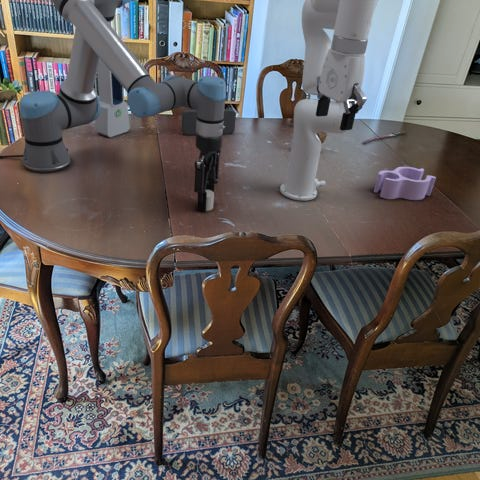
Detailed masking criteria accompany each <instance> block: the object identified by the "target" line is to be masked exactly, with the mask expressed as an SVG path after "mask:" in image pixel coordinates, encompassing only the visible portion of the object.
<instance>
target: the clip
mask: <svg viewBox="0 0 480 480" xmlns="http://www.w3.org/2000/svg"><path fill="white" fill-rule="evenodd" d="M424 172H425V169H424V168H423V167H421V168H416V167H411V166H398V167H396V168H394V169H393V170H385V169H384V170H380V171H378V175H377V179H376V182H375V186H374V190H373V192H374V193H379V191H380V194H379V198H383V199H386V200H396V199H405V200H409V201H420V200H423V199H424V198H425V197H426V196H427V197H430V196H431V194H432V191H433V188H434V185H435V182H436V179H437V177H436V176H434V175H429V174H428V175H426V176H425V179H422V178H423V175H424Z"/></svg>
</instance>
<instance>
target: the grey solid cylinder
mask: <svg viewBox="0 0 480 480" xmlns="http://www.w3.org/2000/svg"><path fill="white" fill-rule="evenodd" d="M206 192H207V201H206V211H205V212H209V211H212V210H213V209H214V204H215V203H214V202H215V191H214V192H213V191H211V190H207V189H206ZM197 195H198V193H196V196H197Z"/></svg>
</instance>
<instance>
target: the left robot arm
mask: <svg viewBox="0 0 480 480" xmlns="http://www.w3.org/2000/svg"><path fill="white" fill-rule="evenodd" d="M51 1H52V3H53V5H54V7H55V9H56V11H57V12H58V14H59V15H60V17H62V18H63V20H64V21H65V22H66V23H69V24H72V25H73V26H74V34H73V40H72V46H71V52H70V58H69V62H68V69H67V74H66V75H67V76H66V79H65V80H62V81H61V83H60V86H59V92H58V93H55V92H54V91H51V90H40V91H39V90H36V91H31V92H29V93H26V94H24V95H23V96H22V97H21V98H20V100H19V103H18V104H19V116H20V119H21V125H22V132H23V136H24V148H23V153H22V154H12V155H11V154H10V155H0V159H7V158H21V159H22V160H21V161H22V166H23V168H24V169H25V170H27V171H29V172H33V173H39V174H46V173H56V172H61V171H63V170H66V169H67V168H69V167H70V166H71V163H72V159H71V155H70V153H69V148H68V147H66V145H65V143H64V140H63V131H65V130H69V129H73V128H77V127H80V126H85V125H88V124H90V123H93V122H95V120H96V119H97V118H98V116H99V114H100V110H101V104H100V103H99V101H100V99H99V94H98V93H97V90H96V89H95V87H94V86H95V82H96V77H97V69H98V64H99V60H100V59H101V60H102V61H103V62H104V64H105V65H106V66H107V68H108V69H109V70H110V71H111V73H112V74H113V75H114V76H115V78H116V79H117V80H118V81H119V83H120V84H121V85H122V86H123V88H124V91H125V92H126V93H127V97H126V103H127V106H128V107H129V108H128V110H129V112H131V114H132V115H133V116H135V117H136V118H140V119H145V118H150V117H155V116H157V115H160V114H162V113H165V112H169V111H172V110H177V109H179V108H188V109H189V110H197V122H196V133H197V134H195V147H196V149H197V150H199V156H198V161H197V160H195V161H194V182H193V183H194V184H193V185H194V186H193V193H195V194H196V211H199V212H200V211H201V212H204V213H206V212H207V211H206V201H207V192H206V189H207V190H211V191H213V192H214V193H215V189H216V185H218V183H219V180H218V179H219V176H220V175H219V173H220V160H221V159H220V157H221V150H222V147H223V136H222V135H223V129H224V128H225V127H224V126H223V120H224V109H225V107H226V106H225V105H226V98H227V93H226V91H227V89H226V88H227V86H226V81H225V80H224V79H223V78H222V77H219V76H212V75H203V76H200V77H199V78H198V80H193V79H191V78H186V77H184V76H181V75H176V74H175V75H174V74H168V75H166V76H165V78H163V79H162V80H161V82H156V81H155V79H154V78H153V77H152V76H151V74H150V73H149V72H148V71H147V70H146V68H145V67H144V66H143V65H142V63H141V62H140V60H139V59H138V58H137V57H136V56H135V54H134V53H133V52H132V50H131V49H130V48H129V47H128V46H127V45H126V43H125V42H124V41H123V40H122V38H121V37H120V36H119V34H118V33H117V32H116V30H115V29H114V28H113V27H112V25H111V24H110V23H111V22H113V21H114V20H115V15H116V11H117V9H120V8H123V7H124V6H125V5H126V4H127V1H128V0H51ZM197 193H198V195H197Z"/></svg>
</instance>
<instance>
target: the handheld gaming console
mask: <svg viewBox="0 0 480 480" xmlns="http://www.w3.org/2000/svg"><path fill="white" fill-rule="evenodd" d="M236 119H237V112H236V111H235V109H229V108H227V109H226V108H224V120H223V126H224V127H225V128H224V129H223V134H224V135H226V134H234V132H236ZM196 122H197V110H193V109H184V110H183V111H182V112H181V130H180V131H181V132H182V133H183V135H196V134H197V133H196ZM223 134H222V135H223Z"/></svg>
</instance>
